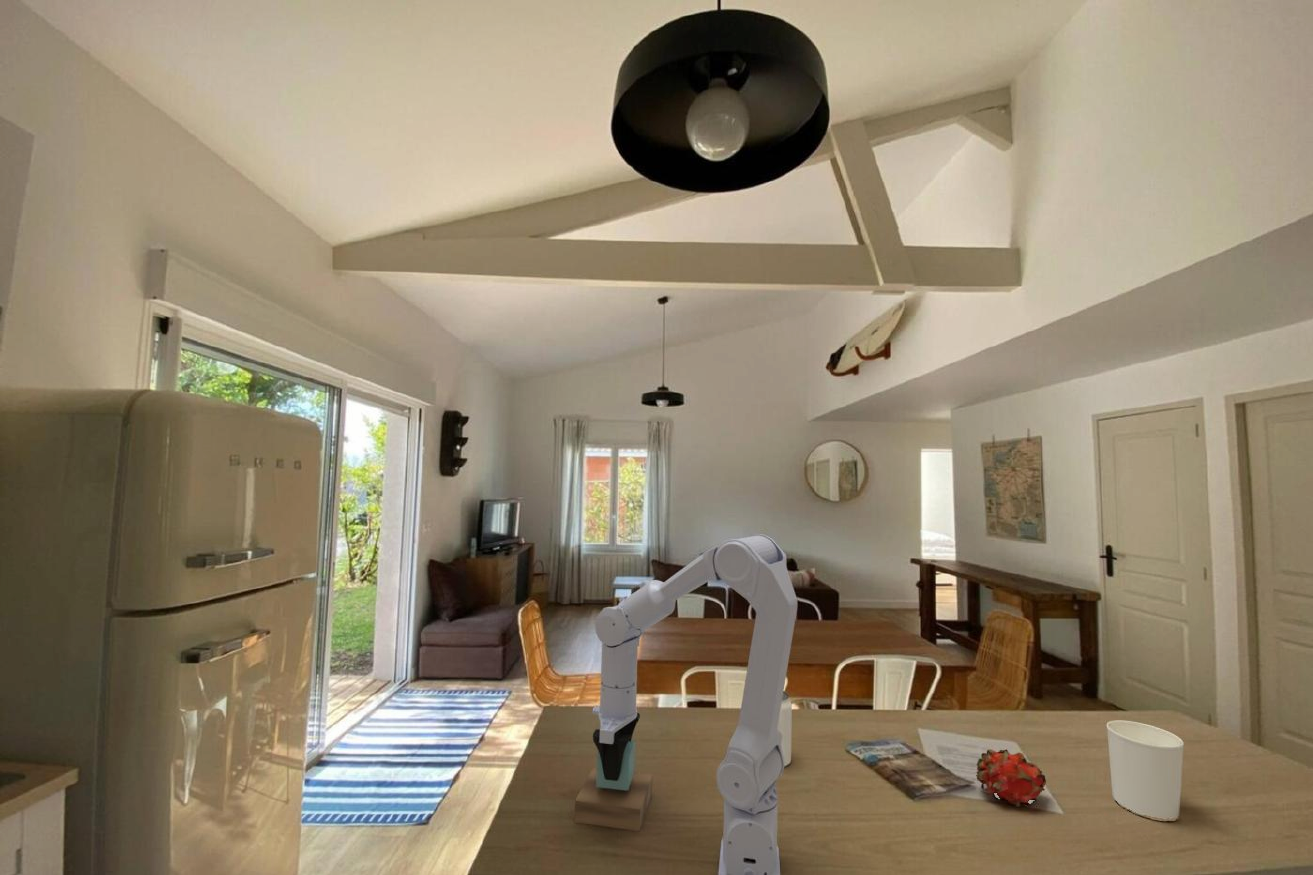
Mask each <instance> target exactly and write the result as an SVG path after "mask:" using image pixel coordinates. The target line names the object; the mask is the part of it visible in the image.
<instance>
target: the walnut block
mask: <svg viewBox="0 0 1313 875" xmlns="http://www.w3.org/2000/svg"><path fill="white" fill-rule="evenodd" d="M596 778H597V767H594V766H593V768H592V769H591V770H590V773H589V775H588V777H587V778H586V780H585V782H584V784H583V786H582V788H581V789H580V791H579V793H578V794H577V797H576V798H575V800H574V820H573V821H574V823H576V824H577V823H579V824H586V825H593V826H599V827H608V828H613V829H614V828H615V829H621V830H628V831H636V832H640V831H641V828H642V825H643V822H644V818H645V816H646V813H647V811H648V810H647V809H648V806H649V803H650V800H651V797H652V795H653V774H652V773H651V774H650V773H642V772H641V773H640V772H635V771H634V776H633V778H632V781H631V784H630V787H629V789H628V791H627V790H619V789H610V788H601V787H596Z"/></svg>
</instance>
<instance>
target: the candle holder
mask: <svg viewBox="0 0 1313 875" xmlns="http://www.w3.org/2000/svg"><path fill="white" fill-rule="evenodd" d="M1106 732H1107V744H1108V753H1109V754H1108V755H1109V757H1108V758H1109V769H1110V780H1111V782H1110V783H1111V791H1112V798H1114V799H1115V800H1116V801H1117V802H1118V803H1119V804H1121V805H1122V806H1124V807H1126V808H1127V809H1130V810H1132V811H1133V812H1136V813H1138V814H1141V815H1147V816H1151V817H1157V818H1163V819H1167V818H1169V819H1172V818H1175V817H1178V816H1179V817H1180V809H1181V808H1180V806H1181V791H1182V775H1183V774H1182V773H1183V759H1184V758H1183V756H1184V755H1183V754H1184V747H1185V743H1184V741H1183V740H1182V739H1181V737H1179V736H1177V735H1176V734H1174V733H1173V732H1170V731H1167V730H1166V729H1162V728H1160V727H1158V726H1154V725H1151V724H1146V723H1142V722H1136V721H1130V720H1122V719H1121V720H1120V719H1119V720H1110V721H1108V722H1107V723H1106ZM1114 799H1113V800H1114ZM1179 817H1178V818H1179Z"/></svg>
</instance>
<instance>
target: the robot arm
mask: <svg viewBox="0 0 1313 875" xmlns="http://www.w3.org/2000/svg"><path fill="white" fill-rule="evenodd" d="M788 571H789V570H788V567H787V554H786V553H785V552H784V551H783V550H782V548H781V547H780V546H779V545H778V544H777V543H776V542H775V539H773V538H772V537H770V536H768V535H766V534H762V533H756V534H755V533H754V534H752V535H750V536H746V537H741V538H730V539H727V540H725V541H723V542H722V543H720V545H717V546H715V547H712V548H710V549H708V550H707V551H705V552H704V553H702V554H700V555H699V556H698V557H696V558H695V559H694V560H692V561H691V562H690V563H688V564H687V565H686V566H684V567H682V569H680V570H679V571H677V572H676V573H675V574H673V575H672V576H670V577H669V578H668V579H667V580H665V581H664V582H663V581H661V580H658V579H653V580H651V581H650V580H649V579H646V580H643V581H642V582H641V583H639V584H638V586H639V589H637V590H636V591H635V592H633V593H632V594H630V595H629V596H628V595H624V596H622V597H620V598H619V599H618V601H619V603H618V604H617V605H615V606H607V607H604V608H602V610H601V611H600V612H598V614H597V615H596V619H595V623H594V629H595V633H596V636H597V638H598V639H599V641H600V642H601V660H600V662H601V667H600V698H599V701H600V702H599V705H595V706H593V708H592V715H595V716H598V719H599V724H600V727H599V728H600V729H599V728H597V729H595V730H594V731H593V733H592V740H593V743H594V745H595V746H596V749H597V751H599V754H600V758H601V762H602V768H603V773H604V777H605V780H613V781H618V779H619V776H620V772H621V767H622V760H623V755H624V751H625V748H626V745H627V743H628V741H632V739H633V735H634V732H635V728H636V726H637V724H638V722H639V721H640V720H639V719H640V718H641V714H640V713H639V712H638V709H637V690H638V689H637V685H638V657H639V656H638V653H639V652H638V651H639V650H638V649H639V647H640V639H641V637H642V636H643V634H644V633H645V631H646V630H648V629H649V628H650V627H652V626H655V624H657V623H659V622H660V621H662V620H664V619H665V618H667V617H668V616H670V615H672V614H673V612H674V611H675V609H676V601H677V600H679V599H680V598H682V597H684V596H687V595H688V594H689V593H691V592H693V591H694V590H696V589H698V588H699V587H701V586H703V585H705V584H706V583H708V582H710V581H711V582H715V583H717V582H720V581H722V582H724V583H725V584H726V585H727V586H728V587H730V588H731V589H732V590H734V591H735V592H736V593H738V594H739V595H741V597H743V598H744V599H745V600H747V602H748V604H749V605H751V607H752V609H754V611H755V620H754V626H753V633H752V637H751V644H750V650H749V656H748V663H747V668H746V673H745V674H746V675H745V680H744V686H743V692H742V700H741V705H740V711H739V716H738V722H737V723H738V724H737V726H736V729H735V730H734V733H733V734H732V737H731V739H730V741H729V743H728V745H727V751H726V755H725V757H724V758H723V760H722V761H721V762H720V764H719V765H718V767H717V770H716V775H715V776H716V777H715V778H716V785H717V789H718V791H719V793H720V794H721V797H722V798H723V831H722V832H723V835H722V839H721V842H720V852H719V862H718V863H719V864H718V875H781V866H780V864H781V863H780V852H779V851H780V850H779V846H778V808H779V807H778V805H779V804H778V803H779V802H778V801H779V800H778V799H779V798H778V797H779V795H778V789H777V780H778V779H779V778H780V777H781V776H782V774H783V772H784V770H785V767H784V756H783V753H782V748H781V741H782V734H781V733H780V732H779V731H778V730H777V727H778V721H779V715H780V709H781V703H782V697H783V691H785V683H786V678H787V673H788V668H789V660H790V659H789V658H790V654H791V649H792V648H791V647H792V641H793V635H794V630H795V623H796V617H797V612H798V599H797V595H796V592H795V589H794V586H793V582H792V579H791V577H790V573H789V572H788Z"/></svg>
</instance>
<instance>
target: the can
mask: <svg viewBox="0 0 1313 875" xmlns="http://www.w3.org/2000/svg"><path fill="white" fill-rule="evenodd" d="M790 697H791V696H790V693H788V692H787V691H786V690H784V691H783V697H782V703H781V709H780V715H779V721H778V727H777V730H778V731H779V732H780V733H781V734H782V741H781V748H782V753H783V756H784V768H785V767H787V766H789V764H790V763H791V761H792V724H793V722H792V716H793V715H792V711H793V710H792V709H793V708H792V702H791V700H790Z"/></svg>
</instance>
